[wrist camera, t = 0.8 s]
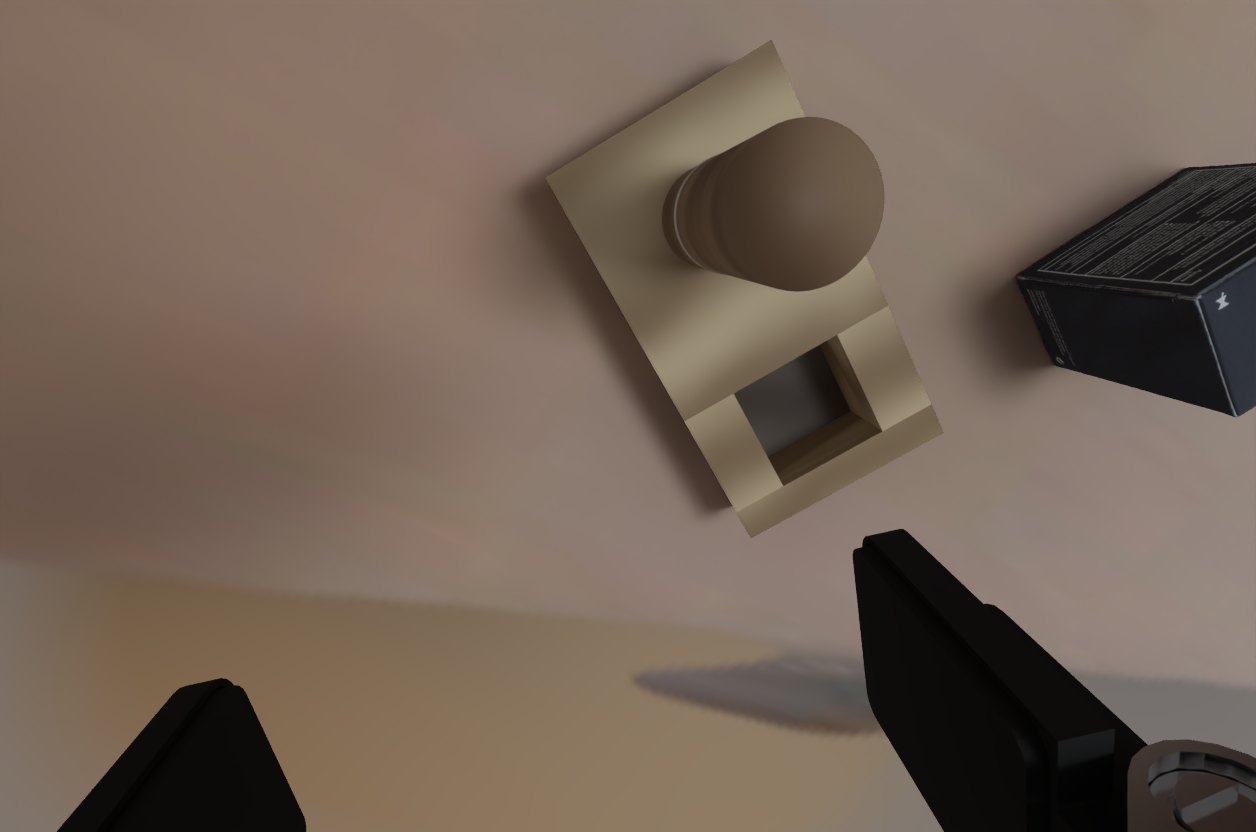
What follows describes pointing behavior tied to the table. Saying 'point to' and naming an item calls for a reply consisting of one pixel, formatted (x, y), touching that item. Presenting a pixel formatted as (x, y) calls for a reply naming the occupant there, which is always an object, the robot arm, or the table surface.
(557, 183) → the board
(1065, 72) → the table surface
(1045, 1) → the table surface
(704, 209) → the peg
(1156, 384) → the small box
